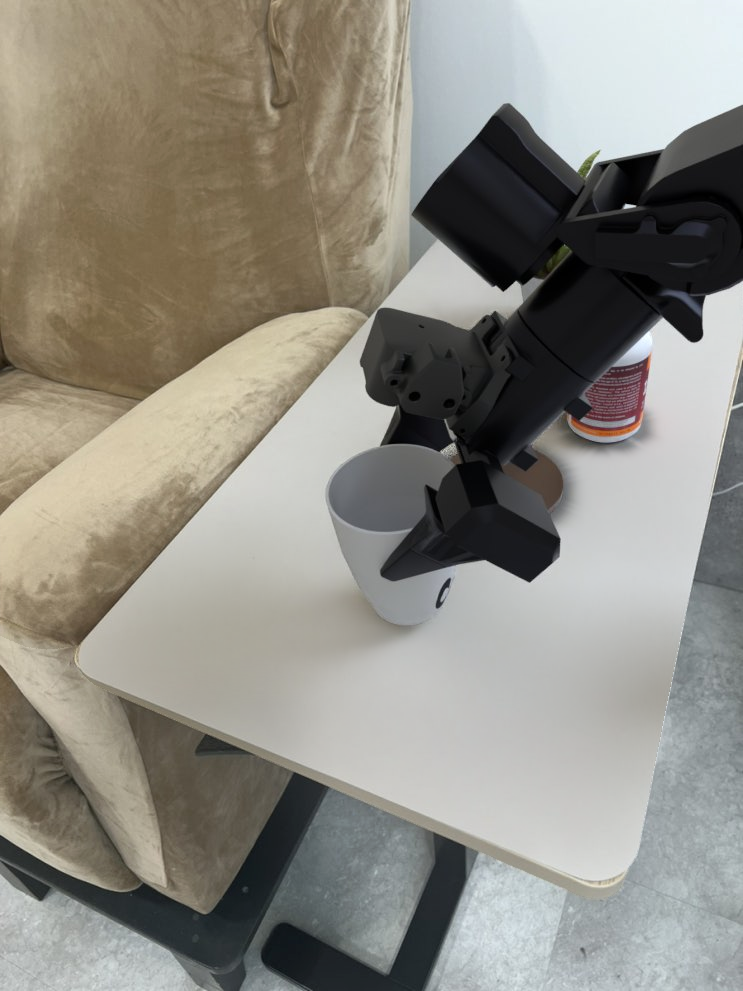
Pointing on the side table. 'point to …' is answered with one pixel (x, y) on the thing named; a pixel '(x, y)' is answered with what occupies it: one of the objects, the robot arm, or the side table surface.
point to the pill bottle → (617, 397)
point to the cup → (388, 525)
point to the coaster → (536, 478)
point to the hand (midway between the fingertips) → (376, 529)
